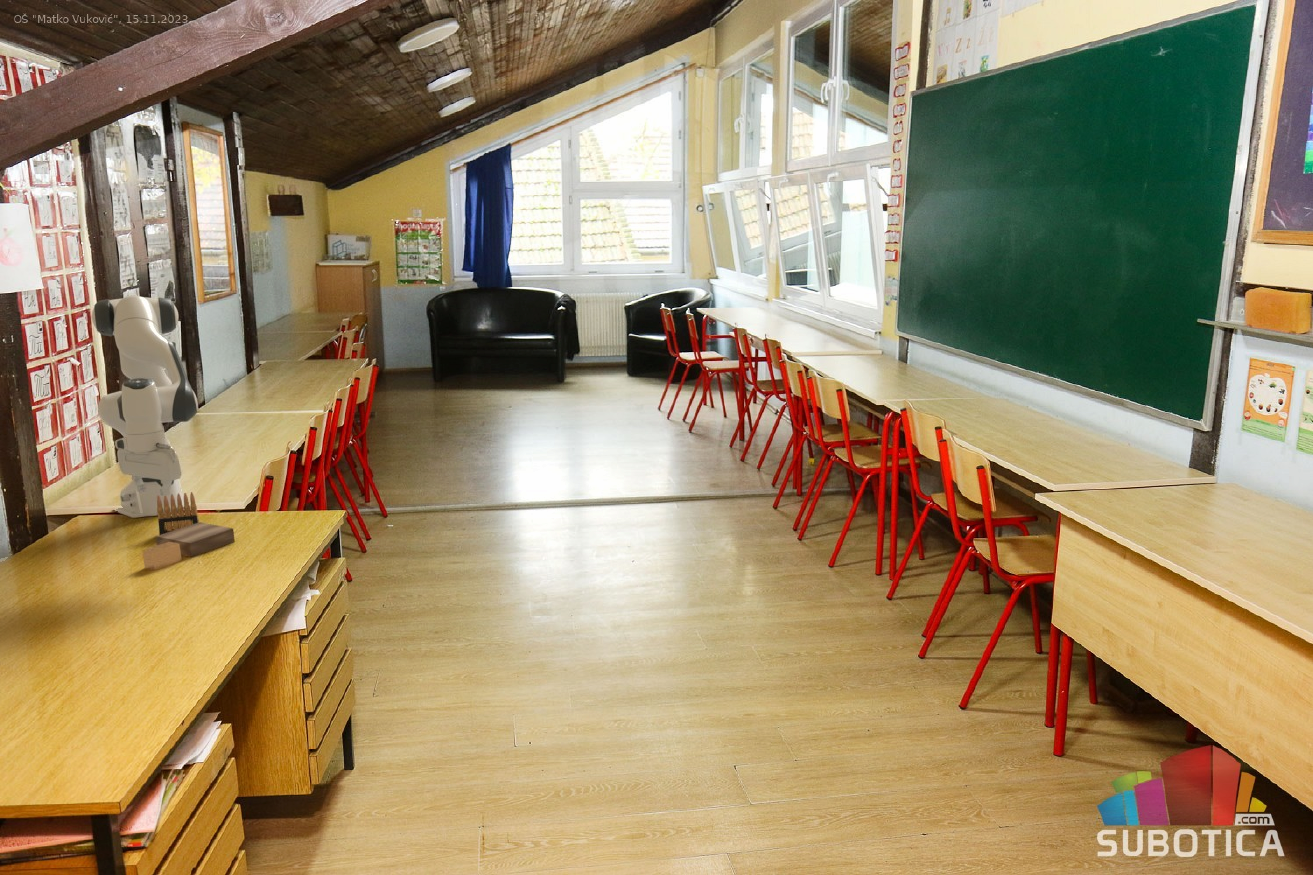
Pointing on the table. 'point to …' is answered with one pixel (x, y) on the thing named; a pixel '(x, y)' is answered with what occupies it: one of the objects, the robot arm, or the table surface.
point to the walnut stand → (198, 538)
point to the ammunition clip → (176, 517)
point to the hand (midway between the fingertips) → (153, 493)
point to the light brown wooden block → (161, 555)
